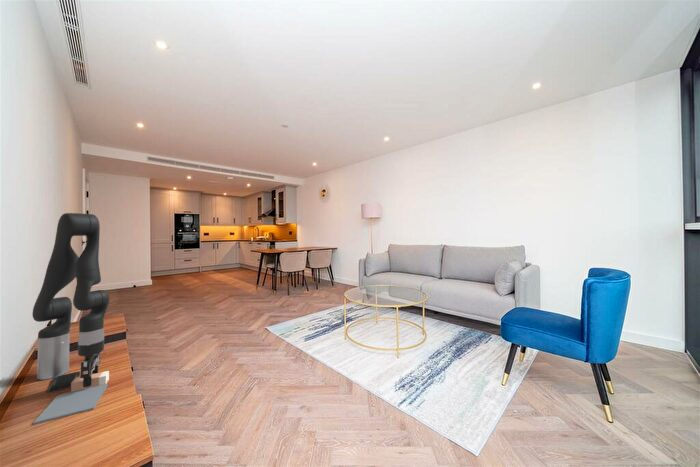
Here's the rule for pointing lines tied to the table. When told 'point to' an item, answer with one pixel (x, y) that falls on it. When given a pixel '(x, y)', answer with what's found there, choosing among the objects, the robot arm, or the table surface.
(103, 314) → the robot arm
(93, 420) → the table surface
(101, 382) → the white-tipped pink eraser
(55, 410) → the mat
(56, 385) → the phone
